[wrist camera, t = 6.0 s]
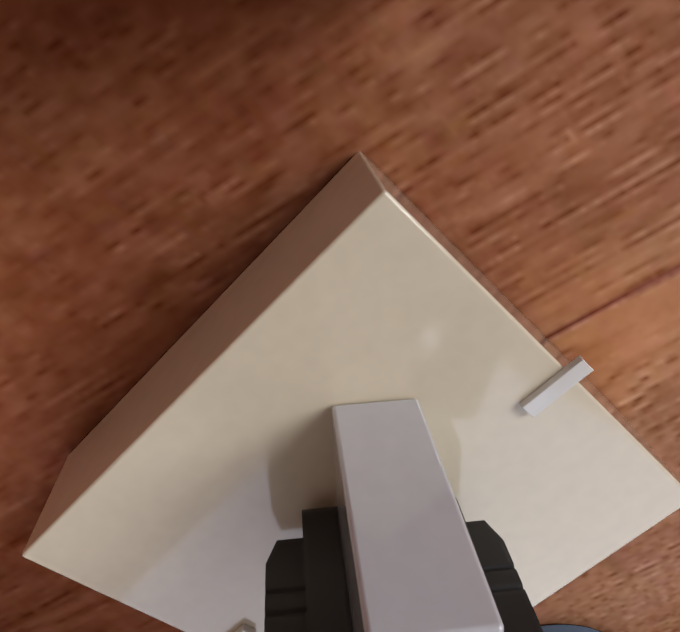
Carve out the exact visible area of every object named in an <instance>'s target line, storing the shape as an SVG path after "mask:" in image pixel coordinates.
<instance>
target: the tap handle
mask: <svg viewBox="0 0 680 632" xmlns="http://www.w3.org/2000/svg"><path fill="white" fill-rule="evenodd" d="M331 412H332V432H333V453H334V473H335V493H336V506H337V510H338V517H339V524H340V532H341V540H342V547H343V555H344V563H345V571H346V579H347V587H348V595H349V603H350V612H351V620H352V628H353V632H504V624H503V622H502V619H501V616H500V614H499V611H498V609H497V606H496V603H495V601H494V598H493V595H492V593H491V590H490V587H489V585H488V582H487V580H486V577H485V574H484V572H483V569H482V566H481V564H480V561H479V558H478V556H477V553H476V551H475V548H474V545H473V543H472V540H471V537H470V535H469V532H468V529H467V527H466V524H465V522H464V519H463V516H462V514H461V511H460V508H459V506H458V503H457V500H456V498H455V495H454V493H453V490H452V487H451V485H450V482H449V479H448V477H447V474H446V471H445V469H444V466H443V464H442V461H441V458H440V456H439V453H438V450H437V448H436V445H435V443H434V440H433V437H432V435H431V432H430V429H429V427H428V424H427V421H426V419H425V416H424V414H423V411H422V408H421V406H420V403H419V401H418V400H417V399H403V400H391V401H380V402H369V403H358V404H346V405H336V406H333V408H332V411H331Z"/></svg>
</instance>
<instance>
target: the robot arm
mask: <svg viewBox="0 0 680 632" xmlns="http://www.w3.org/2000/svg"><path fill="white" fill-rule="evenodd" d="M455 498H456V497H455ZM456 500H457V499H456ZM457 503H458V500H457ZM458 506H459V508H460V505H459V503H458ZM460 511H461V508H460ZM461 514H462V516H463V513H462V511H461ZM463 519H464V516H463ZM464 522H465V524H466V527H467V529H468V532H469V535H470V537H471V540H472V543H473V545H474V548H475V551H476V553H477V556H478V558H479V561H480V564H481V566H482V569H483V572H484V574H485V577H486V580H487V582H488V585H489V587H490V590H491V593H492V595H493V598H494V601H495V603H496V606H497V609H498V611H499V614H500V616H501V619H502V622H503V624H504V632H543V630H542V628H541V625H540V623H539V621H538V618H537V616H536V614H535V611H534V609H533V607H532V605H531V602H530V600H529V598H528V595H527V593H526V591H525V589H523V584H522V581H521V579H520V577H519V575H518V572H517V570H516V569H515V568H514V563H513V561H512V558H511V556H510V554H509V551H508V549H507V547H506V545H505V542H504V540H503V539H502V538H501V537H500V536H499V535H498V534H497V533H496V532H495V531H494V530H493V529H492V528H491V527H490V525H489V524H488V523H487V522H486V521H485V520H481V521H470V522H466V521H465V519H464ZM302 527H303V538H296V539H286V540H277V541H276V543H275V545H274V547H273V550H272V552H271V554H270V556H269V558H268V560H267V562H266V571H265V620H264V632H353V628H352V620H351V612H350V603H349V595H348V587H347V579H346V571H345V563H344V555H343V547H342V540H341V532H340V524H339V517H338V510H337V506H335V507H325V508H314V509H304V510H302Z"/></svg>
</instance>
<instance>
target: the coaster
mask: <svg viewBox="0 0 680 632" xmlns="http://www.w3.org/2000/svg"><path fill="white" fill-rule="evenodd" d="M541 628H542V630H543V632H600V631H597V630H595V629H592V628H588V627H584V626H577V625H562V624H557V625H544V626H541Z"/></svg>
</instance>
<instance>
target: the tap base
mask: <svg viewBox="0 0 680 632" xmlns="http://www.w3.org/2000/svg"><path fill="white" fill-rule="evenodd" d="M592 371H593V369H592V368H591V367H590V365H589V364H588V363H587V362H586V361H585V360H584V359H583V358H582V357H581V356H578V357H576V358H575V359H574V360H573V361H571V362H569V361H568V360H567V359H566V358H565V357H564V356H563V355H562V354H561V353H560V352H559V351H558V350H557V349H556V348H555V347H554V346H553V345H552V344H551V343H550V342H549V341H548V340H547V339H546V338H545V337H544V336H543V335H542V334H541V333H540V332H539V331H538V330H537V329H536V328H535V327H534V326H533V325H532V324H531V323H530V322H529V321H528V319H527V318H526V317H525V316H524V315H523V314H522V313H521V312H520V311H519V310H518V309H517V308H516V307H515V306H514V305H513V304H512V303H511V302H510V301H509V300H508V299H507V298H506V297H505V296H504V295H503V294H502V293H501V292H500V291H499V290H498V289H497V288H496V287H495V286H494V285H493V284H492V283H491V282H490V281H489V280H488V279H487V278H486V277H485V276H484V275H483V274H482V273H481V272H480V271H479V270H478V269H477V268H476V267H475V266H474V265H473V264H472V263H471V262H470V261H469V260H468V259H467V258H466V257H465V256H464V255H463V254H462V253H461V252H460V251H459V250H458V249H457V248H456V247H455V246H454V245H453V244H452V243H451V242H450V241H449V240H448V239H447V238H446V237H445V236H444V235H443V234H442V233H441V232H440V231H439V230H438V229H437V228H436V227H435V226H434V225H433V224H432V223H431V222H430V221H429V220H428V219H427V218H426V217H425V215H424V214H423V213H422V212H421V211H420V210H419V209H418V208H417V207H416V206H415V205H414V204H413V203H412V202H411V201H410V200H409V199H408V198H407V197H406V196H405V195H404V194H403V193H402V192H401V191H400V190H399V189H398V188H397V187H396V186H395V185H394V184H393V183H392V182H391V181H390V180H389V179H388V178H387V177H386V176H385V175H384V174H383V173H382V172H381V171H380V170H379V169H378V168H377V167H376V166H375V165H374V164H373V163H372V162H371V161H370V160H369V159H368V158H367V157H366V156H365V155H364V154H363V153H362V152H357V153H356V154H355V155H354V156H353V157H352V158H351V160H350V161H349V162H348V163H347V164H346V165H345V166H344V167H343V168H342V169H341V170H340V171H339V172H338V173H337V174H336V175H335V176H334V177H333V178H332V179H331V180H330V182H329V183H328V184H327V185H326V186H325V187H324V188H323V189H322V190H321V191H320V192H319V193H318V194H317V195H316V196H315V197H314V198H313V199H312V200H311V201H310V202H309V204H308V205H307V206H306V207H305V208H304V209H303V210H302V211H301V212H300V213H299V214H298V215H297V216H296V217H295V218H294V219H293V220H292V221H291V222H290V223H289V224H288V226H287V227H286V228H285V229H284V230H283V231H282V232H281V233H280V234H279V235H278V236H277V237H276V238H275V239H274V240H273V241H272V242H271V243H270V244H269V245H268V246H267V248H266V249H265V250H264V251H263V252H262V253H261V254H260V255H259V256H258V257H257V258H256V259H255V260H254V261H253V262H252V263H251V264H250V265H249V266H248V267H247V268H246V270H245V271H244V272H243V273H242V274H241V275H240V276H239V277H238V278H237V279H236V280H235V281H234V282H233V283H232V284H231V285H230V286H229V287H228V288H227V289H226V291H225V292H224V293H223V294H222V295H221V296H220V297H219V298H218V299H217V300H216V301H215V302H214V303H213V304H212V305H211V306H210V307H209V308H208V309H207V310H206V311H205V313H204V314H203V315H202V316H201V317H200V318H199V319H198V320H197V321H196V322H195V323H194V324H193V325H192V326H191V327H190V328H189V329H188V330H187V331H186V332H185V333H184V335H183V336H182V337H181V338H180V339H179V340H178V341H177V342H176V343H175V344H174V345H173V346H172V347H171V348H170V349H169V350H168V351H167V352H166V353H165V354H164V355H163V357H162V358H161V359H160V360H159V361H158V362H157V363H156V364H155V365H154V366H153V367H152V368H151V369H150V370H149V371H148V372H147V373H146V374H145V375H144V376H143V377H142V379H141V380H140V381H139V382H138V383H137V384H136V385H135V386H134V387H133V388H132V389H131V390H130V391H129V392H128V393H127V394H126V395H125V396H124V397H123V398H122V399H121V401H120V402H119V403H118V404H117V405H116V406H115V407H114V408H113V409H112V410H111V411H110V412H109V413H108V414H107V415H106V416H105V417H104V418H103V419H102V420H101V421H100V423H99V424H98V425H97V426H96V427H95V428H94V429H93V430H92V431H91V432H90V433H89V434H88V435H87V436H86V437H85V438H84V439H83V440H82V441H81V442H80V443H79V445H78V446H77V447H76V448H75V449H74V450H73V451H72V452H71V453H70V454H69V455H68V457H67V459H66V461H65V463H64V466H63V468H62V470H61V472H60V474H59V476H58V478H57V480H56V483H55V485H54V487H53V489H52V491H51V493H50V495H49V498H48V500H47V502H46V504H45V506H44V508H43V510H42V513H41V515H40V517H39V519H38V521H37V523H36V525H35V527H34V530H33V532H32V534H31V536H30V538H29V540H28V542H27V545H26V547H25V549H24V551H23V554H22V556H23V557H24V558H26V559H28V560H30V561H32V562H34V563H37V564H39V565H41V566H43V567H45V568H47V569H50V570H52V571H54V572H56V573H58V574H60V575H63V576H65V577H67V578H69V579H71V580H73V581H76V582H78V583H80V584H82V585H84V586H86V587H88V588H91V589H93V590H95V591H97V592H99V593H101V594H104V595H106V596H108V597H110V598H112V599H114V600H117V601H119V602H121V603H123V604H125V605H127V606H129V607H132V608H134V609H136V610H138V611H140V612H142V613H145V614H147V615H149V616H151V617H153V618H155V619H158V620H160V621H162V622H164V623H166V624H168V625H171V626H173V627H175V628H177V629H179V630H181V631H183V632H264V620H265V571H266V562H267V560H268V558H269V556H270V554H271V552H272V550H273V547H274V545H275V543H276V541H277V540H286V539H296V538H303V527H302V510H304V509H314V508H325V507H335V506H336V493H335V473H334V453H333V432H332V412H331V411H332V408H333V406H336V405H346V404H358V403H369V402H380V401H391V400H403V399H417V400H418V401H419V403H420V406H421V408H422V411H423V414H424V416H425V419H426V421H427V424H428V427H429V429H430V432H431V435H432V437H433V440H434V443H435V445H436V448H437V450H438V453H439V456H440V458H441V461H442V464H443V466H444V469H445V471H446V474H447V477H448V479H449V482H450V485H451V487H452V490H453V493H454V495H455V497H456V499H457V500H458V503H459V505H460V508H461V511H462V513H463V516H464V519H465V521H466V522H470V521H481V520H485V521H486V522H487V523H488V524H489V525H490V527H491V528H492V529H493V530H494V531H495V532H496V533H497V534H498V535H499V536H500V537H501V538H502V539H503V540H504V542H505V545H506V547H507V549H508V551H509V554H510V556H511V558H512V561H513V563H514V568H515V569H516V570H517V572H518V575H519V577H520V579H521V581H522V584H523V589H525V591H526V593H527V595H528V598H529V600H530V602H531V605H532V607H534V606H536V605H537V604H539V603H540V602H541V601H543V600H544V599H546V598H547V597H549V596H550V595H552V594H553V593H555V592H556V591H558V590H559V589H561V588H562V587H564V586H565V585H567V584H568V583H570V582H571V581H573V580H574V579H576V578H577V577H579V576H580V575H581V574H583V573H584V572H586V571H587V570H589V569H590V568H592V567H593V566H595V565H596V564H598V563H599V562H601V561H602V560H604V559H605V558H607V557H608V556H610V555H611V554H613V553H614V552H616V551H617V550H618V549H620V548H621V547H623V546H624V545H626V544H627V543H629V542H630V541H632V540H633V539H635V538H636V537H638V536H639V535H641V534H642V533H644V532H645V531H647V530H648V529H650V528H651V527H653V526H654V525H656V524H657V523H658V522H660V521H661V520H663V519H664V518H666V517H667V516H669V515H670V514H672V513H673V512H675V511H676V510H678V509H679V508H680V480H679V479H678V478H677V477H676V476H675V475H674V474H673V472H672V471H671V470H670V469H669V468H668V467H667V466H666V464H665V463H664V462H663V461H662V460H661V459H660V458H659V456H658V455H657V454H656V453H655V452H654V451H653V450H652V448H651V447H650V446H649V445H648V444H647V443H646V442H645V440H644V439H643V438H642V437H641V436H640V435H639V434H638V433H637V431H636V430H635V429H634V428H633V427H632V426H631V425H630V423H629V422H628V421H627V420H626V419H625V418H624V417H623V415H622V414H621V413H620V412H619V411H618V410H617V409H616V408H615V407H614V406H613V405H612V404H611V403H610V402H609V401H608V400H607V399H606V398H605V397H604V396H603V395H602V394H601V393H600V392H599V391H598V390H597V389H596V388H595V387H594V386H593V385H592V384H591V383H590V382H589V381H588V380H587V379H586V378H585V377H586V376H587V375H588V374H590V373H591V372H592Z"/></svg>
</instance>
